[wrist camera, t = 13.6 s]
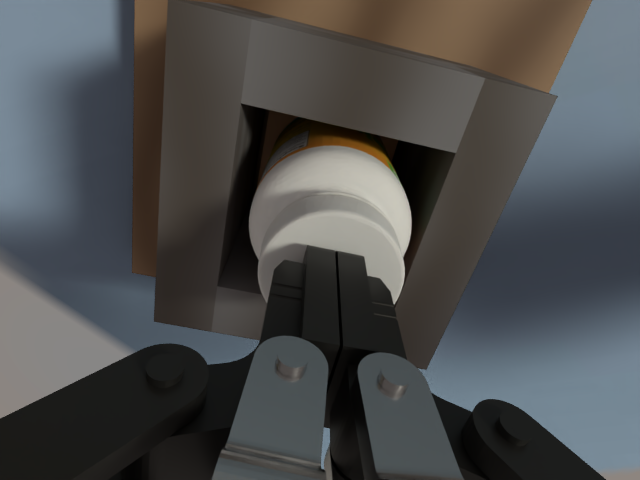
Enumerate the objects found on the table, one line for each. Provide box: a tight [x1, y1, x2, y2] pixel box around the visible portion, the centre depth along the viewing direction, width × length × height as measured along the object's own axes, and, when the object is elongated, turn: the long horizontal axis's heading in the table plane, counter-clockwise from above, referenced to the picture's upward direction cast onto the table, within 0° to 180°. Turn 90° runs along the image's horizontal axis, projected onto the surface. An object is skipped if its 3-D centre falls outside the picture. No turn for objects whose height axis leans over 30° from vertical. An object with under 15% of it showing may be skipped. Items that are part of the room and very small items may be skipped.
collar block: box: [132, 0, 592, 370], centre depth 18 cm, size 19×19×10 cm
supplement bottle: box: [249, 117, 412, 304], centre depth 15 cm, size 5×5×10 cm
